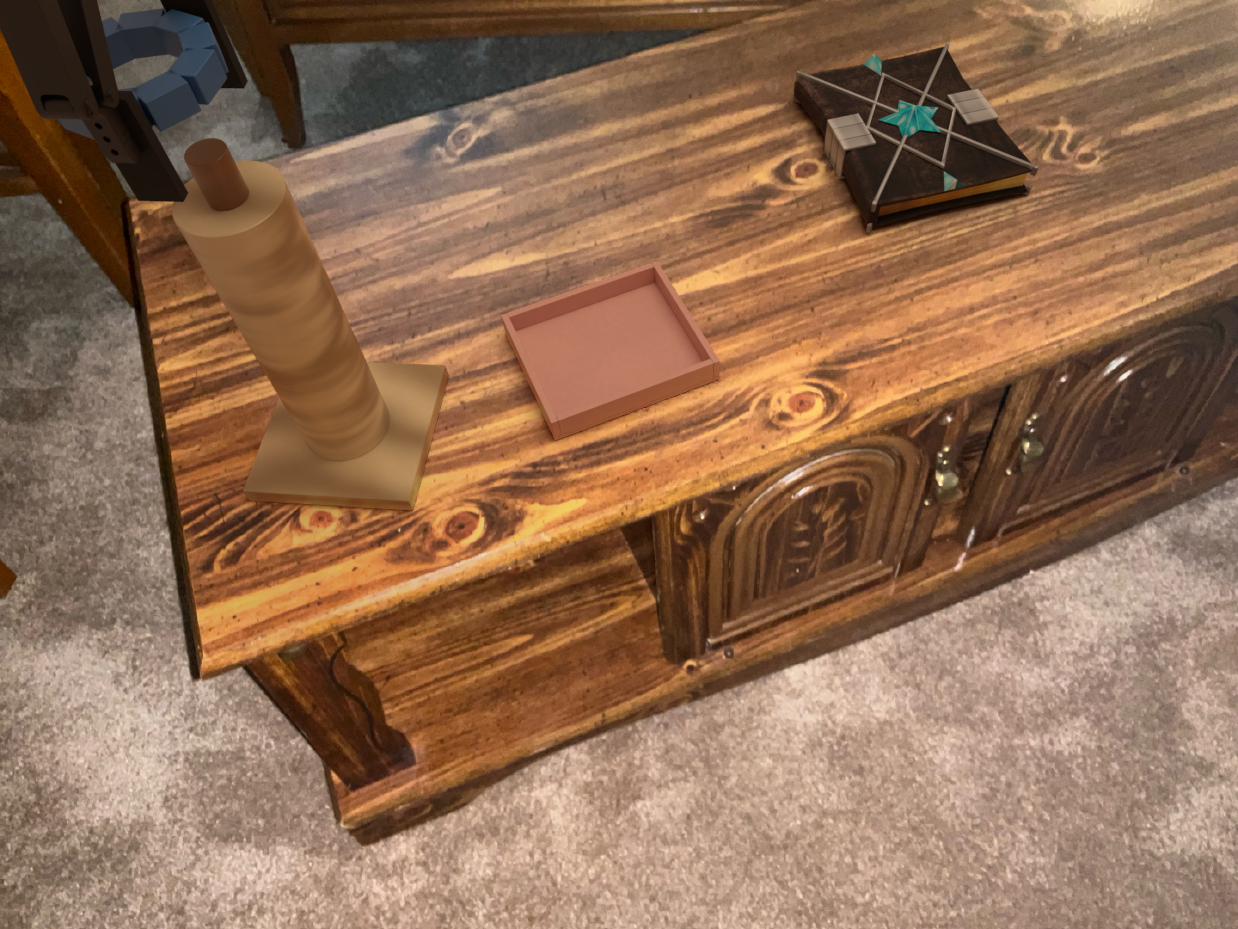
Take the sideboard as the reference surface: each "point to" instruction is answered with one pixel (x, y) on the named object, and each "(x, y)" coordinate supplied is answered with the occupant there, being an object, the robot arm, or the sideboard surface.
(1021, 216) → the sideboard surface
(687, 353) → the tray
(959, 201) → the book
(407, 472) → the tan post with base
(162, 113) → the ring
